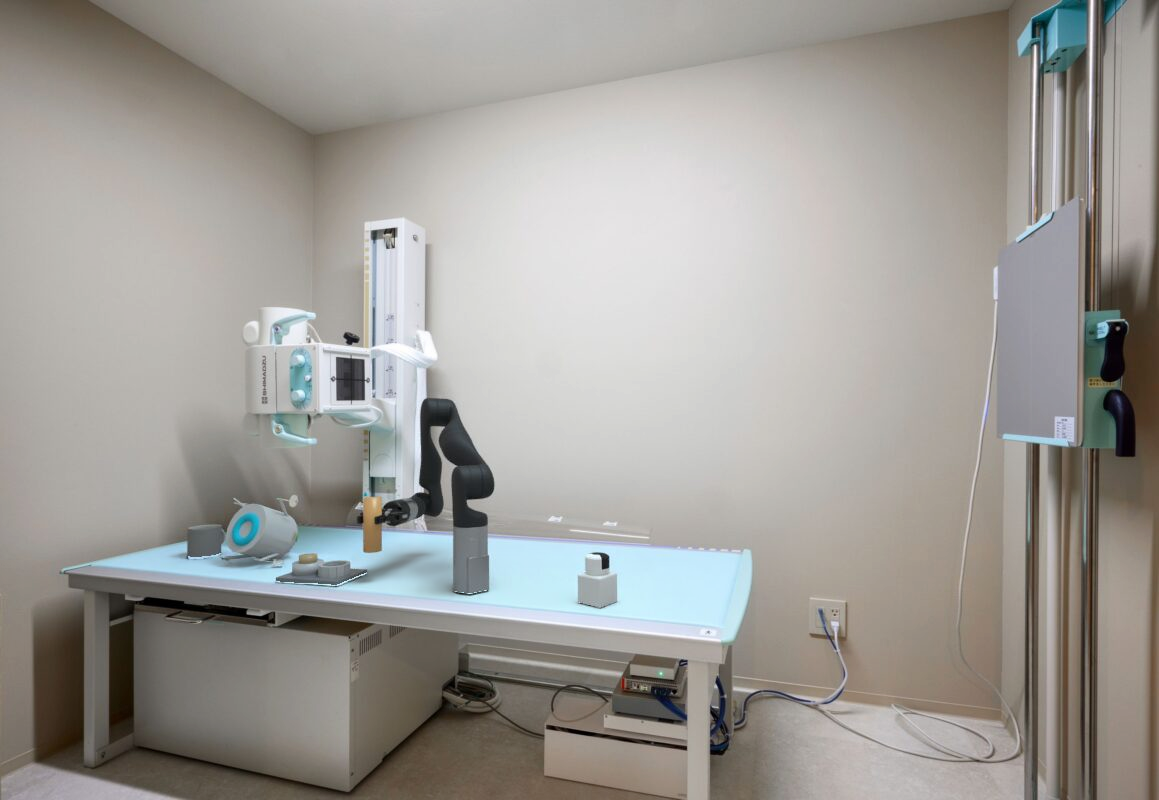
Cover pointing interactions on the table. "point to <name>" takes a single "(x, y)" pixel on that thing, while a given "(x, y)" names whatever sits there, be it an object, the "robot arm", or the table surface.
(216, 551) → the coffee mug
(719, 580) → the table surface
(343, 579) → the housing
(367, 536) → the cylinder
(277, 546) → the satellite
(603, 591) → the medicine bottle
